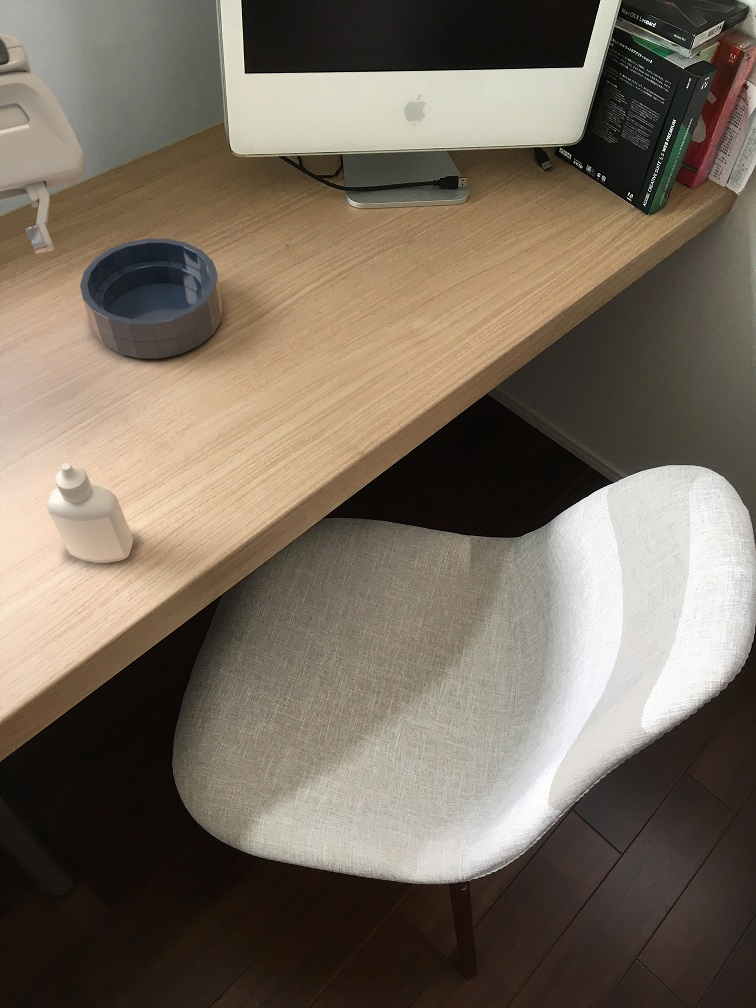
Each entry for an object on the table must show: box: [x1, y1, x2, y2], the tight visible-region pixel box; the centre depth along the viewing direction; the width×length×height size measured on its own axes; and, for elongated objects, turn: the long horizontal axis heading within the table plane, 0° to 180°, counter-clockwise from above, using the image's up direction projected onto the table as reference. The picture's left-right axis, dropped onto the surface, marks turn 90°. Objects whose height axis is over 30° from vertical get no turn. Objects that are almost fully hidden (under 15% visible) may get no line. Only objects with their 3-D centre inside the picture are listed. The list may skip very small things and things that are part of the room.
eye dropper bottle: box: [46, 462, 134, 564], centre depth 67 cm, size 4×6×12 cm
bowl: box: [79, 238, 223, 359], centre depth 88 cm, size 15×15×6 cm
